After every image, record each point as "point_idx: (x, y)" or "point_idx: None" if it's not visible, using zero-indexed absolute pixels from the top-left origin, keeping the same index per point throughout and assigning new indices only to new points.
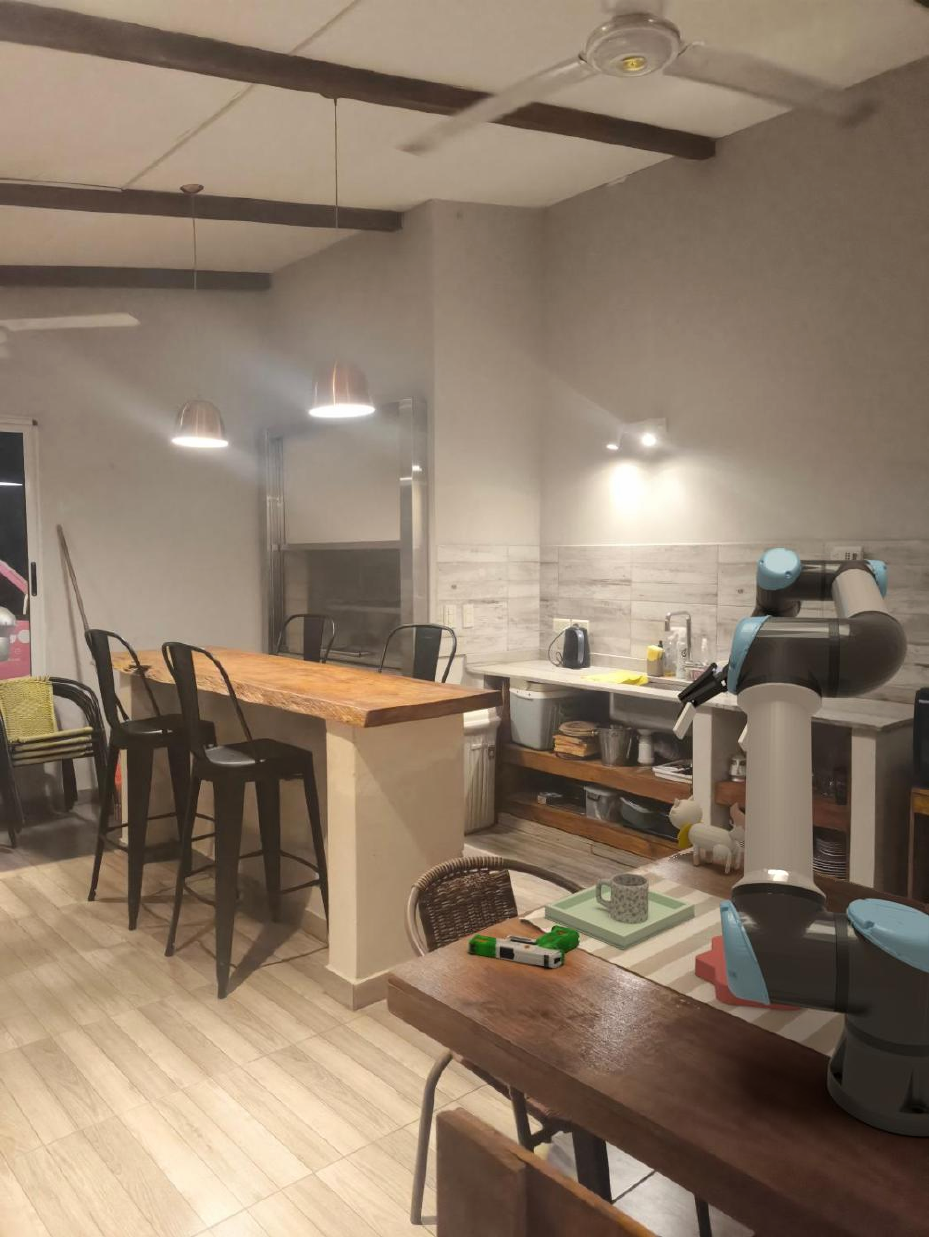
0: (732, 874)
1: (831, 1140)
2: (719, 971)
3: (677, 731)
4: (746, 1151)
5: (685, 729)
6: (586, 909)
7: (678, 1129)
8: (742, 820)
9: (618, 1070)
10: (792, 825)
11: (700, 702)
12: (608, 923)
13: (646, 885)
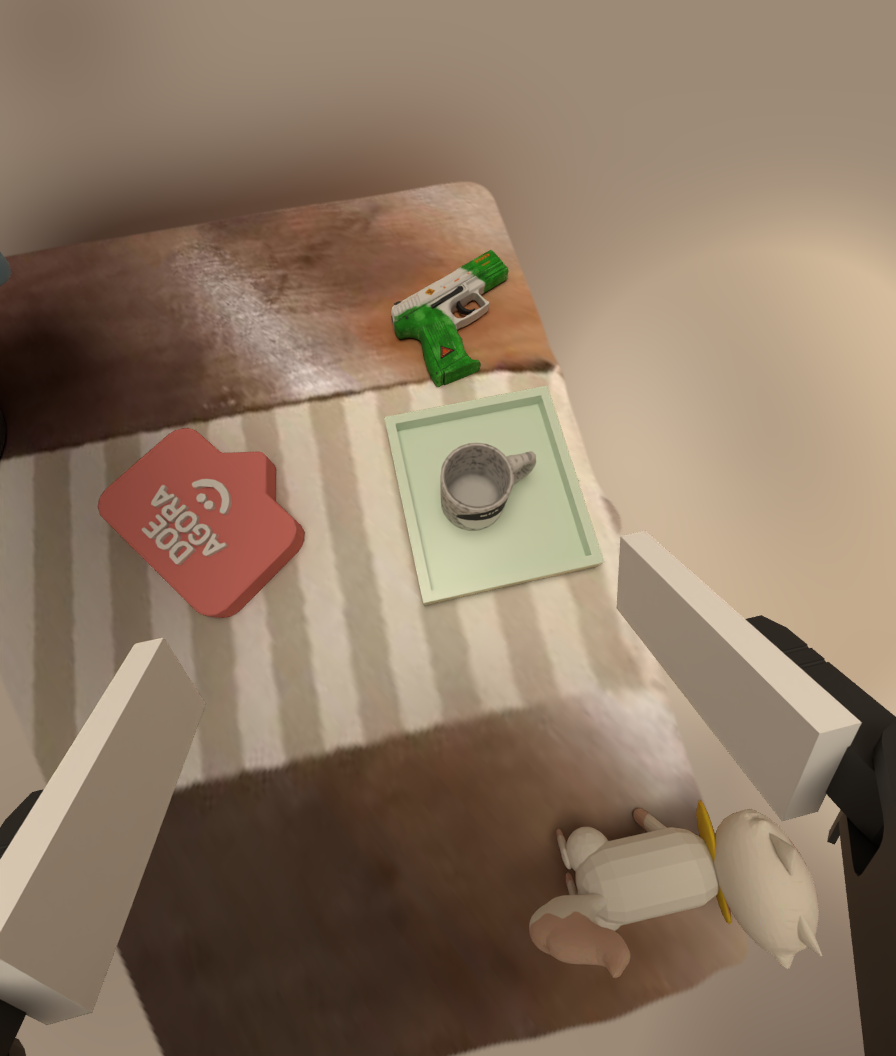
0: (557, 851)
1: None
2: (207, 449)
3: (622, 552)
4: None
5: (650, 638)
6: None
7: (69, 249)
8: (565, 932)
9: (172, 260)
10: None
11: (861, 914)
12: None
13: (443, 490)
